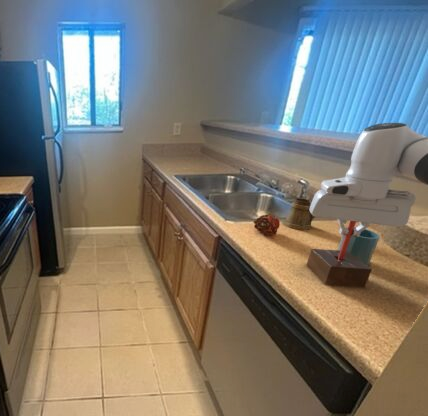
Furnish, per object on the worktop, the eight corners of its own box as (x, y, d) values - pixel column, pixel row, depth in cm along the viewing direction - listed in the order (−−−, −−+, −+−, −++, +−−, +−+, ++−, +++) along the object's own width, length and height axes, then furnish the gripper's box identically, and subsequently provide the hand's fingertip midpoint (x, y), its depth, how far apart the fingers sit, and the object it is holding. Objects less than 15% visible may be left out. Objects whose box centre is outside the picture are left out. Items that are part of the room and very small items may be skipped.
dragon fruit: (262, 242, 104) (260, 234, 115) (286, 233, 100) (282, 226, 111) (251, 223, 105) (250, 216, 115) (274, 213, 101) (271, 207, 111)
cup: (362, 256, 92) (372, 229, 88) (373, 269, 85) (384, 240, 81) (332, 251, 95) (341, 225, 91) (340, 263, 88) (349, 235, 84)
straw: (340, 265, 81) (361, 201, 74) (341, 267, 80) (363, 202, 72) (335, 264, 81) (356, 200, 74) (336, 266, 80) (357, 202, 73)
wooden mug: (322, 235, 106) (336, 191, 100) (282, 225, 115) (292, 184, 108) (324, 228, 112) (338, 186, 106) (286, 219, 121) (296, 180, 114)
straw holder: (341, 267, 86) (347, 250, 83) (364, 287, 76) (372, 269, 74) (306, 265, 87) (311, 248, 85) (324, 284, 78) (331, 266, 76)
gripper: (411, 188, 70) (392, 236, 75) (315, 181, 78) (303, 224, 83) (425, 195, 65) (404, 246, 70) (320, 186, 73) (307, 233, 78)
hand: (348, 234), depth 77 cm, fingers closed on straw, 1 cm apart
